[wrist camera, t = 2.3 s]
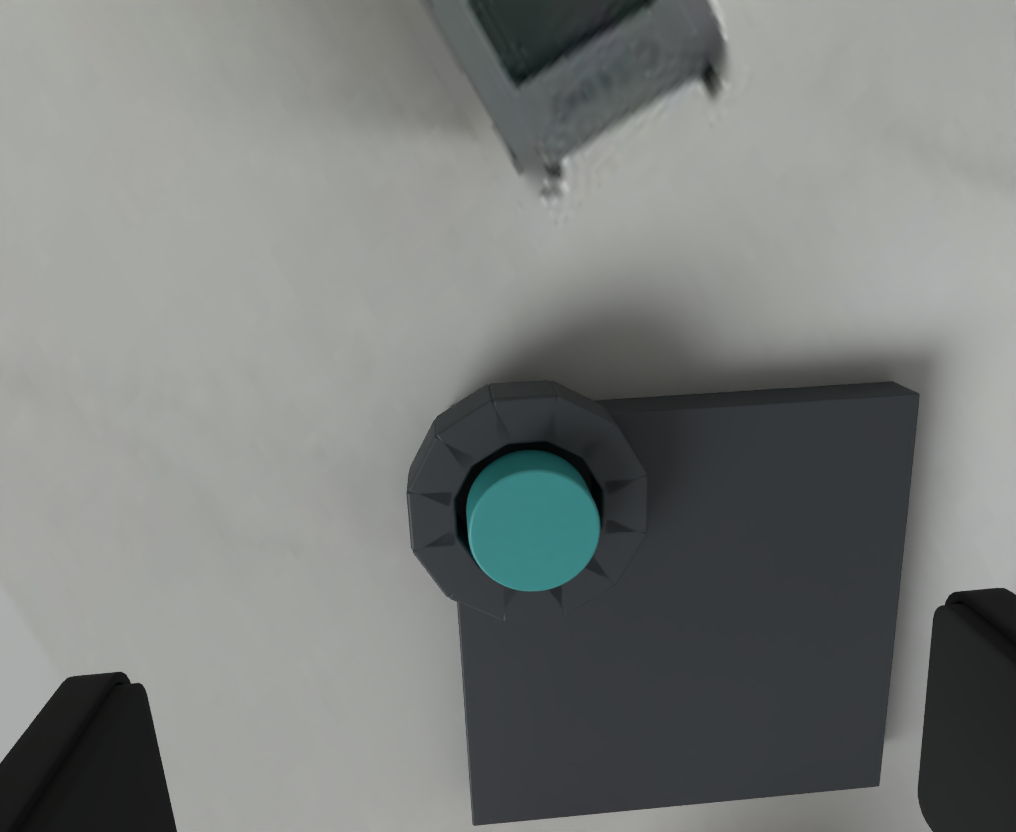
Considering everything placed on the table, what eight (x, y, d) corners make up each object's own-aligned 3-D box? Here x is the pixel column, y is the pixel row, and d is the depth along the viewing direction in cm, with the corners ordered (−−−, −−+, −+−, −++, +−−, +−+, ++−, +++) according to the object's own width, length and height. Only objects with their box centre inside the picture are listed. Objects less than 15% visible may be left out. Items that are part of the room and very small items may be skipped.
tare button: (469, 568, 21) (472, 597, 20) (462, 453, 21) (464, 474, 19) (590, 559, 22) (601, 587, 20) (589, 444, 21) (600, 465, 19)
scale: (438, 796, 27) (438, 872, 24) (404, 376, 23) (398, 405, 20) (858, 756, 27) (907, 824, 25) (896, 345, 23) (960, 369, 21)
